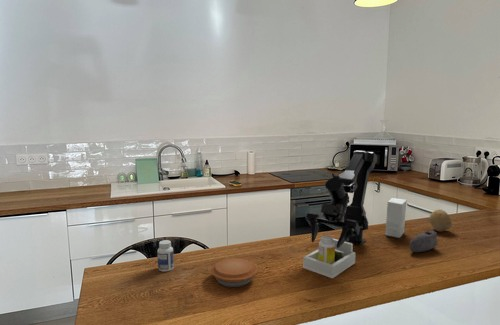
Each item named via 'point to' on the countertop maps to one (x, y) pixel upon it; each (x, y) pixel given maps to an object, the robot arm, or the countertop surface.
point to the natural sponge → (440, 220)
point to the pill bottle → (165, 256)
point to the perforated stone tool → (423, 242)
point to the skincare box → (395, 217)
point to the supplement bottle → (326, 250)
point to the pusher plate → (338, 255)
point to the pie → (234, 272)
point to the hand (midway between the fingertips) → (324, 244)
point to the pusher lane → (328, 269)
